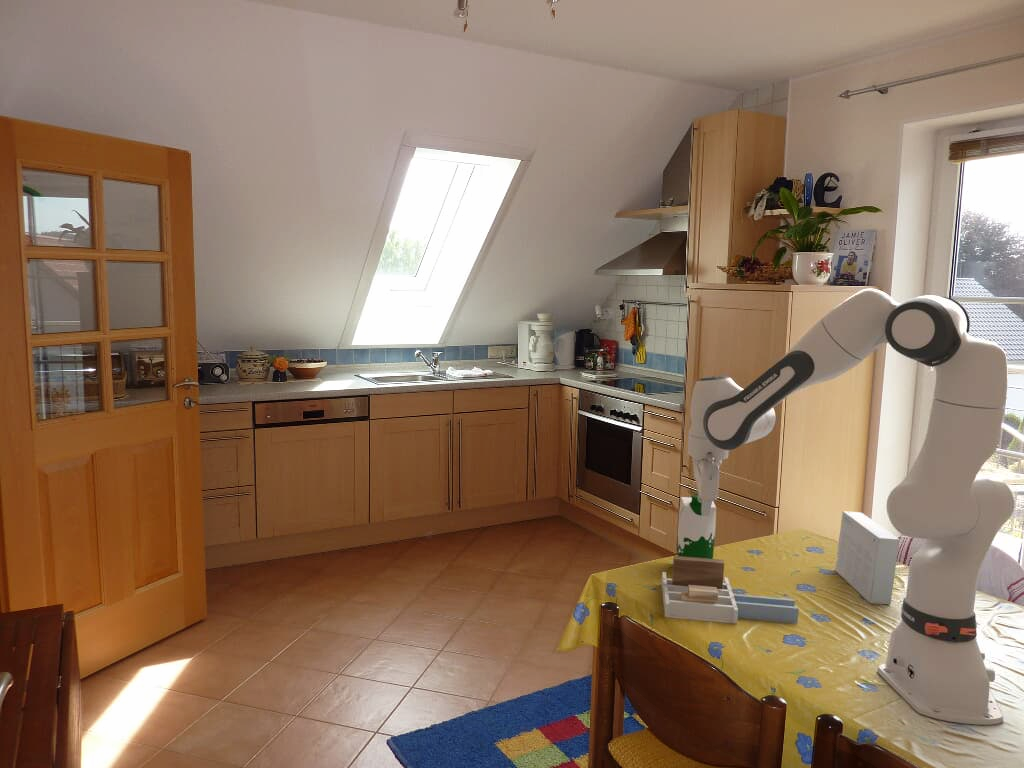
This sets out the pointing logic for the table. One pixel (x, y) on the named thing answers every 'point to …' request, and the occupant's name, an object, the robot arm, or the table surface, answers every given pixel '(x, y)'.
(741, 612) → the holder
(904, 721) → the table surface
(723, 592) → the rack
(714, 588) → the offcut top
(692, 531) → the milk carton
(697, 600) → the offcut mid
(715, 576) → the walnut sheet
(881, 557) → the skincare box
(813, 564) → the table surface
